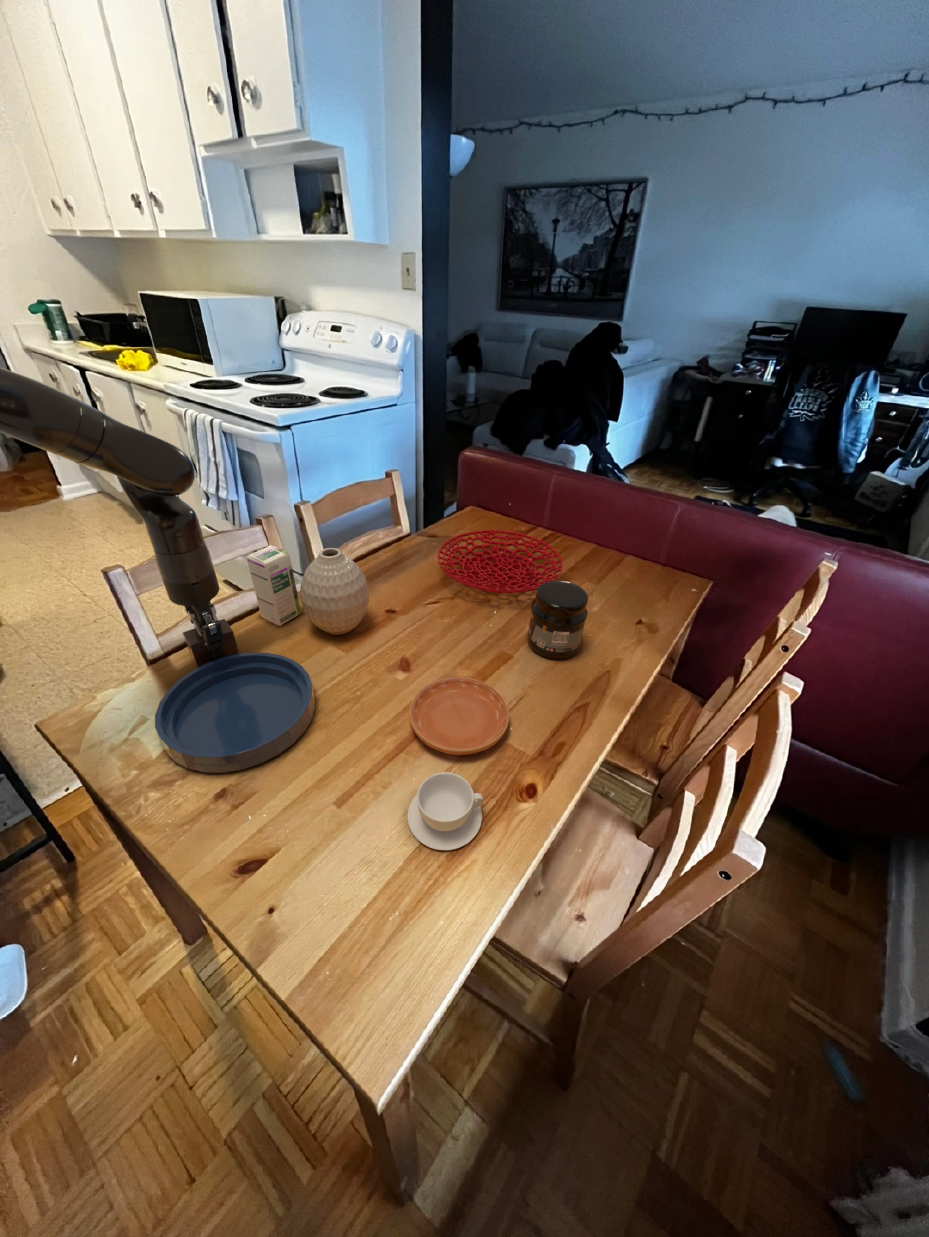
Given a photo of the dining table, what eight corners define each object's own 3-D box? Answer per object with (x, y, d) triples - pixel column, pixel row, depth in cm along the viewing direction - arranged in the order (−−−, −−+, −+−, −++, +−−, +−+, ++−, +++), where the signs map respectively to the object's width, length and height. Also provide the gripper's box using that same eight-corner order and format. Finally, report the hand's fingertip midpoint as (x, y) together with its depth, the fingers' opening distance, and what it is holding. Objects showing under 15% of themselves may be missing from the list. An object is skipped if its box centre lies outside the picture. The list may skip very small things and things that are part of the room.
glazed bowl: (187, 803, 67) (178, 785, 65) (147, 706, 81) (139, 688, 79) (339, 726, 79) (337, 709, 77) (282, 653, 93) (278, 636, 91)
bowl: (476, 624, 103) (477, 604, 100) (416, 561, 124) (416, 543, 121) (585, 591, 116) (589, 573, 113) (514, 539, 136) (516, 522, 133)
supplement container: (553, 622, 105) (562, 573, 98) (590, 649, 98) (603, 598, 91) (515, 639, 100) (522, 588, 93) (552, 668, 93) (562, 616, 86)
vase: (355, 601, 108) (348, 531, 98) (382, 632, 100) (377, 558, 90) (297, 619, 102) (283, 546, 92) (320, 653, 93) (308, 576, 84)
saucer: (527, 736, 79) (530, 723, 77) (440, 779, 72) (441, 766, 70) (473, 677, 90) (474, 665, 88) (392, 709, 83) (391, 696, 81)
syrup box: (279, 627, 99) (266, 563, 91) (260, 617, 102) (245, 554, 93) (301, 614, 103) (290, 552, 95) (282, 604, 106) (269, 543, 97)
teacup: (410, 857, 62) (410, 836, 60) (405, 789, 70) (404, 768, 68) (488, 846, 64) (491, 825, 61) (474, 781, 72) (476, 760, 69)
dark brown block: (199, 672, 86) (190, 645, 83) (191, 658, 89) (182, 632, 85) (240, 657, 90) (233, 630, 86) (231, 644, 93) (224, 618, 89)
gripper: (150, 558, 81) (180, 640, 91) (173, 597, 72) (204, 683, 82) (198, 546, 85) (222, 626, 95) (227, 581, 76) (249, 666, 86)
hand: (214, 652), depth 89 cm, fingers closed on dark brown block, 4 cm apart
